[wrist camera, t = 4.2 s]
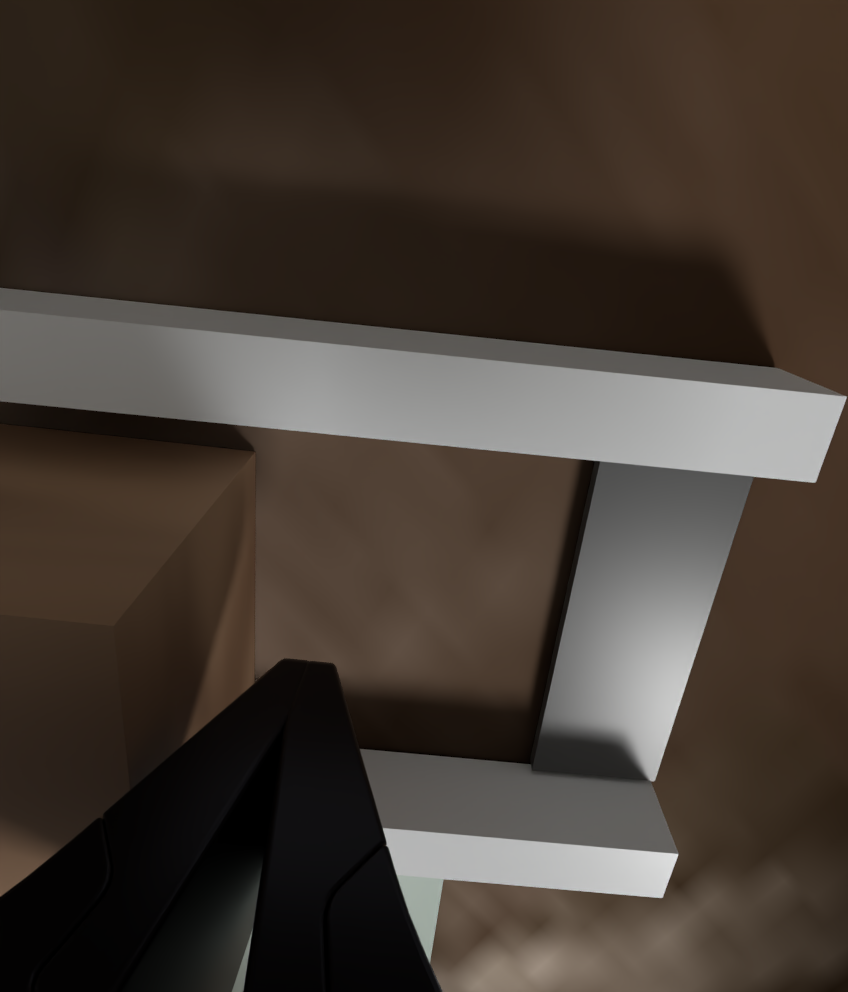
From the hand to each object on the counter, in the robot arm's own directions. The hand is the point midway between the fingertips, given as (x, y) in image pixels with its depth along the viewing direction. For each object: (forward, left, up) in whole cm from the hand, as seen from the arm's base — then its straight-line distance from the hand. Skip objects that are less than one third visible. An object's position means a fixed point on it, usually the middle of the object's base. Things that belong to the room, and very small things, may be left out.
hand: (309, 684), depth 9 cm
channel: (0, 0, -3) cm, 3 cm away
